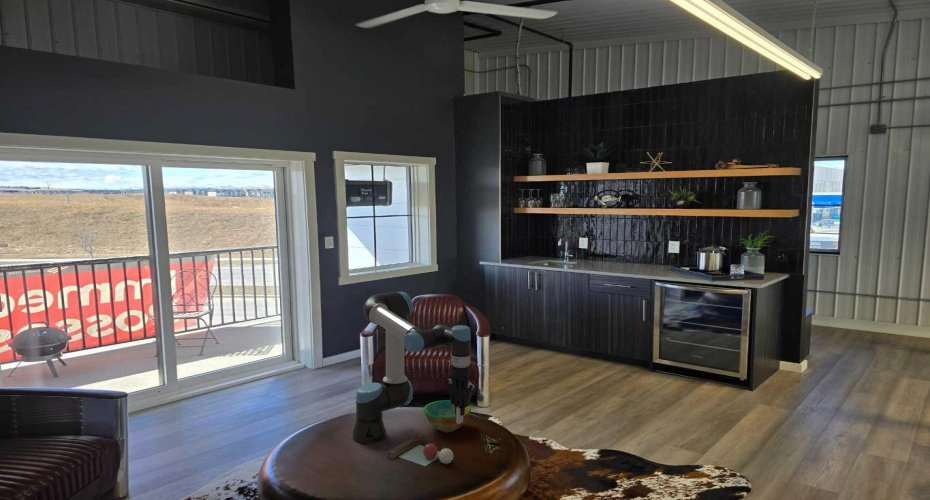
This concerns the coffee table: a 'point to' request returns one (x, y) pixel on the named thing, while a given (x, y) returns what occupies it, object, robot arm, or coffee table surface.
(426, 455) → the red ball
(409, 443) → the strip
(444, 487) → the coffee table surface
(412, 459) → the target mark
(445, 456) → the white ball
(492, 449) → the butterfly
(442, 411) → the bowl
